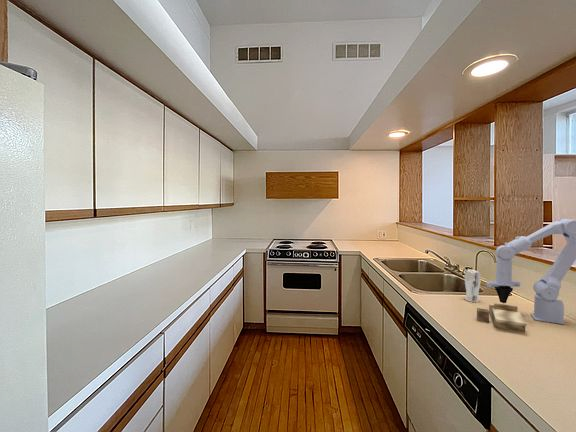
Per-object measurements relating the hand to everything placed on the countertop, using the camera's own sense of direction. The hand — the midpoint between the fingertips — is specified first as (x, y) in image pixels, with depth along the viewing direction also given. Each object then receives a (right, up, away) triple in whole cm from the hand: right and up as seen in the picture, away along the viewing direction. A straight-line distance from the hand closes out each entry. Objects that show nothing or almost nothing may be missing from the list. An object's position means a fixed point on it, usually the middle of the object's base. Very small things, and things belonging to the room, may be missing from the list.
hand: (502, 302), depth 137 cm
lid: (-7, -2, -13) cm, 15 cm away
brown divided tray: (-4, -6, -8) cm, 10 cm away
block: (-14, -6, -7) cm, 17 cm away
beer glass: (-3, -4, +19) cm, 19 cm away
